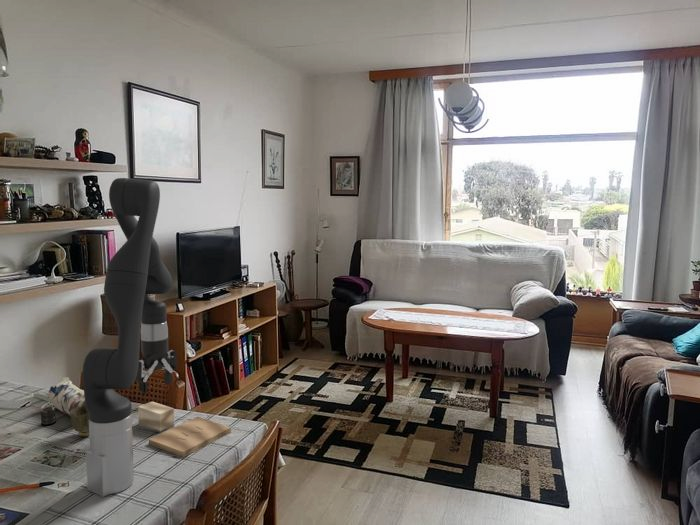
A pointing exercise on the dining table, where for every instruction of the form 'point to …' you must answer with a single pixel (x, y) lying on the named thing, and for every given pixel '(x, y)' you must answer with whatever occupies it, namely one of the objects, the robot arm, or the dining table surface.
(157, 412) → the block
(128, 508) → the dining table surface
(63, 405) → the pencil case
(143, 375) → the robot arm
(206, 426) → the oak board
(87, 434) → the cup
